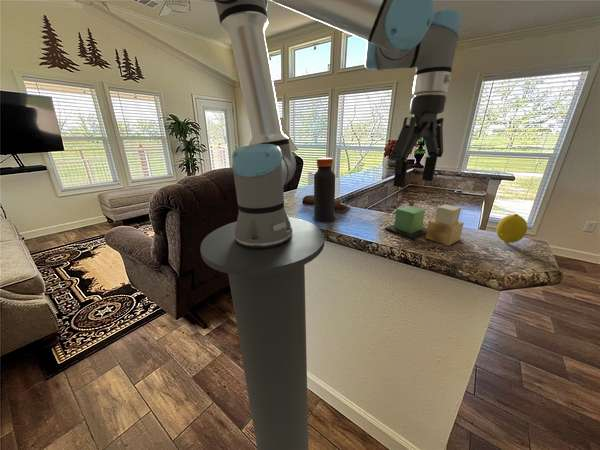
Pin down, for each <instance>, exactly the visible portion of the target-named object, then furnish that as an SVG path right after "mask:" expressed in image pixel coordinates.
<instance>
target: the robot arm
mask: <svg viewBox="0 0 600 450" xmlns="http://www.w3.org/2000/svg"><path fill="white" fill-rule="evenodd" d="M213 2H214V3H215V6H216V10H217V16H218V20H219V23H220V28H221V30H222V32H223V33H225V34H226V36H228V37H229V39H230V43H231V48H232V52H233V57H234V62H235V66H236V70H237V74H238V80H239V84H240V88H241V92H242V96H243V101H244V106H245V110H246V116H247V121H248V124H249V128H250V132H251V140H250V141H249V143H248V145H243V146H240V147H238V148H236V149H235V150H234V151H232V154H231V160H232V161H231V162H232V164H231V169H232V172H233V181H234V187H235V193H236V201H237V209H238V214H237V220H236V221H237V224H236V228H235V234H234V235H235V242H236V243H237V244H238V245H239V246H241V247H243V248H247V249H253V250H264V249H271V248H276V247H279V246H282V245H284V244H286V243H287V242H289V241H290V240H291V239H292V236H293V235H292V227H291V224H290V222H289V219H288V217H289V216H288V215H287V212H286V209H285V196H284V194H285V193H284V186H285V185H288V184H289V183H290V182H291V180H292V179H293V178H294V175H295V173H296V169H297V162H296V157H295V155H294V153H293V152H292V149H291V143H290V139H289V137H288V136H287V135H286V134H284V132H283V129H282V124H281V123H282V122H281V117H280V113H279V107H278V102H277V97H276V96H277V95H276V91H275V85H274V80H273V75H272V69H271V64H270V58H269V57H270V56H269V52H268V47H267V46H268V45H267V42H266V36H265V31H266V28H267V27H268V25H269V18H268V5H269V2H272V3H273V4H274V3H275V4H277V5H278V6H281V7H284V8H287V9H289V10H292V11H293V12H295V13H299V14H301V15H303V16H306V17H307V18H310V19H312V20H315V21H318V22H320V23H323V24H325V25H327V26H330V27H332V28H334V29H337V30H339V31H342V32H344V33H346V34H349V35H351V36H353V37H356V38H358V39H361V40H363V41H366V42H365V43H366V44H365V54H364V67H365V69H367V70H368V71H370V70H372V71H373V70H375V71H382V70H396V69H413V68H414V69H415V74H414V78H413V79H414V80H413V86H412V92H411V94H412V96H413V97H412V98H411V100H410V106H409V114H410V115H413V116H406V117H404V119H403V124H402V126H401V127H402V128H401V129H400V133H399V135H398V137H397V140H396V141H395V144H394V146H393V149H392V151H391V154H390V159H392V161H395V167H394V177H393V185H392V186H393V187H396V188H401V189H402V188H405V185H406V177H407V173H408V167H409V160H407V159H408V157H409V156H410V154H411V153H412V151H413V149H414V148H415V146H416V145H417V143H418V141H419V140H421V139H423V141H424V144H425V147H426V151H427V155H428V156H425V161H424V166H423V172H422V178H421V180H422V181H427V182H433V180H434V175H435V171H436V166H437V162H438V158H442V156H443V153H444V134H443V133H444V132H443V126H444V117H438V115H439V114H442V113H443V112H444V111H445V107H446V101H447V96H446V95H445V94H446V93H448V91H449V85H450V82H451V81H452V76H451V75H452V71H453V65H454V60H455V57H456V56H455V55H456V51H457V46H458V43H459V39H460V31H461V25H462V14H461V12H460V11H459V10H456V9H453V8H447V9H442V10H439V11H435V3H434V0H213Z"/></svg>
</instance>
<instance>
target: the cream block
mask: <svg viewBox="0 0 600 450" xmlns="http://www.w3.org/2000/svg"><path fill="white" fill-rule="evenodd" d="M461 210H462V207H460V206H456V205H451V204H446V203H445V204H442V205H439V206H437V207H436V212H435V217H434V219H435V222H439V223H442V224H446V225H450V226H451V225H453V224H455V223H457V222H458V221H459V219H460V216H461Z"/></svg>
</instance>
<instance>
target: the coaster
mask: <svg viewBox="0 0 600 450" xmlns="http://www.w3.org/2000/svg"><path fill="white" fill-rule="evenodd" d="M427 228H428V227H424V226H422V229H421V230H419V231H416V232H414V233H412V234H410V233H407V232H405V231H402V230H399V229H396V228H394V224H391V225H389V226H386V227H385V228H384V230H386V231H388V232H392V233H394V234H397V235H400V236H402V237H405V238H408V239H410V240H415V239H417V238H419V237H421V236H424V235H426V233H427Z"/></svg>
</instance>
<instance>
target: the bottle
mask: <svg viewBox="0 0 600 450" xmlns="http://www.w3.org/2000/svg"><path fill="white" fill-rule="evenodd" d="M333 163H334V159H333V158H332V157H318V158H316V166H317V167H316V168H317V171H316V172H315V173H314V175H313V195H314V205H313V217H314V218H313V219H314V220H315V221H317V222H322V223H327V222H332V221H333V220H334V219H335V210H334V203H335V199H336V198H335V197H336V174H335V173H334V171H333V170H332V168H333Z"/></svg>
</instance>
